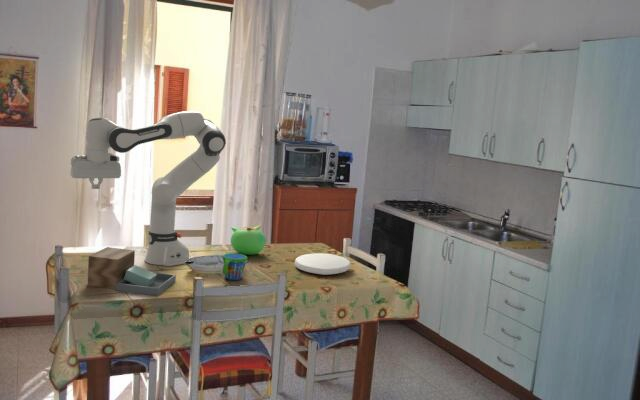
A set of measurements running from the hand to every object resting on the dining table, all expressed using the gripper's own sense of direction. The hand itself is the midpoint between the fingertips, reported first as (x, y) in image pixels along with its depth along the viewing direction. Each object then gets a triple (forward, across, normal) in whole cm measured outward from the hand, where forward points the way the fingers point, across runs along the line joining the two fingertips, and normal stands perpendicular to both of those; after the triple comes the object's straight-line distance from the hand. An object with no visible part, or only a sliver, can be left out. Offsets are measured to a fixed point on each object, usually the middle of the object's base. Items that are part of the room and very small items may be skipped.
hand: (95, 188), depth 255 cm
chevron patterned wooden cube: (+35, +1, -20) cm, 41 cm away
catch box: (+35, +11, -31) cm, 48 cm away
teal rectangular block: (+30, +6, -26) cm, 40 cm away
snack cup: (+35, +50, -34) cm, 70 cm away
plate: (+36, +99, -36) cm, 111 cm away
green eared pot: (+35, +79, +1) cm, 86 cm away
